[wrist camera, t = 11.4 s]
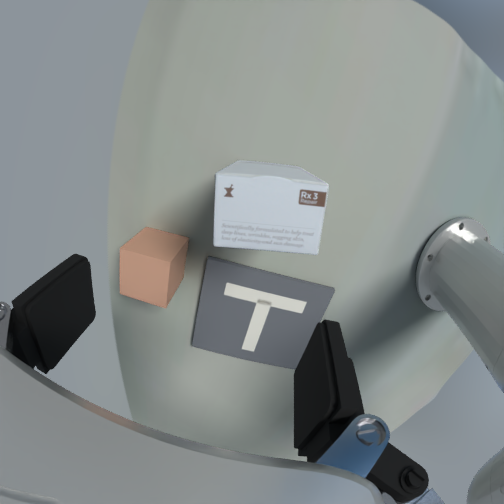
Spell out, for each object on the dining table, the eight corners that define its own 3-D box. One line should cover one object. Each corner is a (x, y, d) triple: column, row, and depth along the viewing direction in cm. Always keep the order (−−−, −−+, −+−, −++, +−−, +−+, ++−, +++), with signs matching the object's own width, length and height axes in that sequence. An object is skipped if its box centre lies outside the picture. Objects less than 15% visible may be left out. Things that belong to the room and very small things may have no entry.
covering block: (189, 237, 28) (170, 262, 22) (183, 278, 30) (166, 308, 24) (146, 226, 28) (119, 248, 22) (143, 266, 30) (119, 293, 24)
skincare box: (234, 202, 26) (206, 253, 15) (237, 156, 24) (208, 171, 13) (298, 208, 26) (317, 263, 15) (303, 162, 24) (331, 183, 13)
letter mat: (333, 287, 29) (334, 290, 28) (295, 366, 34) (295, 369, 34) (208, 256, 28) (207, 258, 28) (192, 343, 34) (191, 346, 33)
